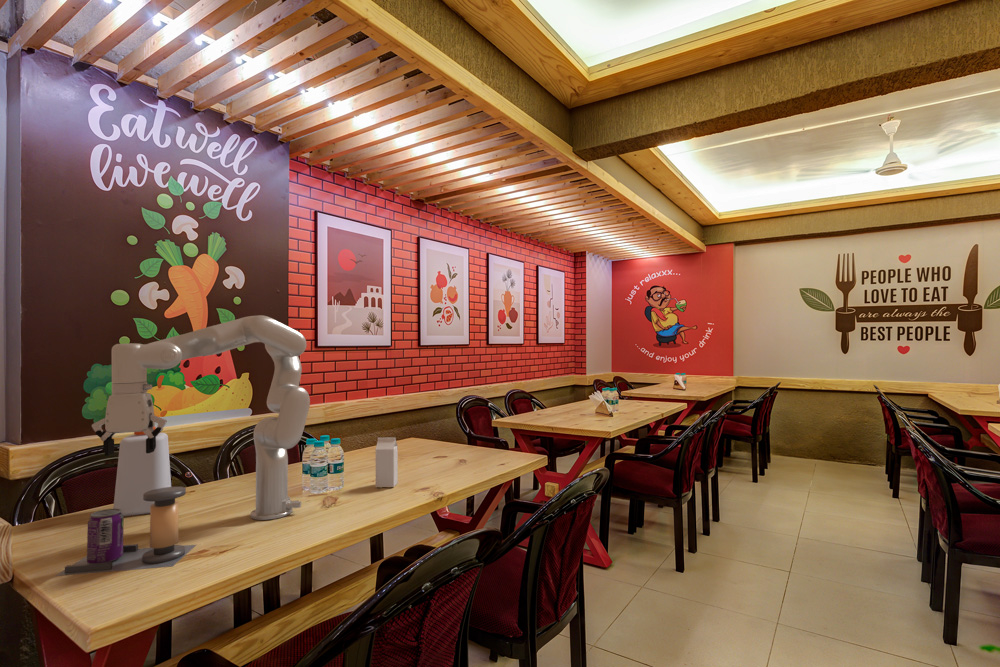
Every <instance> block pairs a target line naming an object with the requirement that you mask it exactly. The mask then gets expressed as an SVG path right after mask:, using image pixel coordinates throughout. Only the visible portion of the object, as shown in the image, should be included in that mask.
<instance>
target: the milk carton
mask: <svg viewBox="0 0 1000 667" xmlns="http://www.w3.org/2000/svg"><path fill="white" fill-rule="evenodd" d="M396 439H397V437H395V436H394V437H391V436H390V437H387V436H386V437H377V441H376V446H375V488H376V487H394V486H395V487H396V485H397V484H398V483H399V482H398V481H399V480H398V478H399V476H398V475H399V473H398V472H399V469H398V463H399V461H398V460H399V459H398V458H399V457H398V455H399V452H398V451H399V450H398V444H397V443H398V442H397V440H396ZM395 487H394V488H395Z"/></svg>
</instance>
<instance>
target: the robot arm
mask: <svg viewBox="0 0 1000 667" xmlns="http://www.w3.org/2000/svg"><path fill="white" fill-rule="evenodd" d="M253 343H262V344H264V348H265V350H266V352H267V353H268V354H269V356H270V357H271V359H272V361H273V363H274V372H273V376H272V380H271V385H270V387H269V390H268V395H267V398H266V406H267V408H268V410H269V411H270V412H273V413H275V414H278V416H277V417H276V416H267V417H264V418H262V419H261V420H259V421H258V422H257V423H256V425H255V427H254V429H253V443H254V448H255V462H256V463H255V509H254V510H252V511H250V512H249V513H250V518H251V519H253V520H256V521H257V520H258V521H269V520H275V519H281V518H284V517H286V516H289V515H290V514H291V513H293V511H294V510H293V509H297V508H298V509H299V508H300V509H301V508H302V501H300V500H292V499H291V496H289V495H288V493H289V492H288V485H289V484H288V482H289V480H288V478H289V476H288V472H289V470H288V468H289V456H288V450H289V449H292V448H294V447H295V446H296V445H298V443H299V442H300V441H301V439H302V436H303V432H304V431H305V427H306V426H305V425H306V423H307V418H308V415H309V411H310V406H311V405H310V404H311V399H310V395H309V392H308V391H307V390H306V389H305V388H304V387H302V386H300V382H301V377H302V370H303V367H302V363H301V362H302V361H301V360H300V357H299V356H301V355H302V354H304V352H305V350H306V349H307V340H306V338H305V336H304V335H303V334H302V333H301V332H299V331H298V330H296V329H294V328H292V327H290V326H288V325H287V324H284V323H282V322H280V321H278V320H276V319H274V318H272V317H270V316H267V315H262V314H261V315H260V314H259V315H250V316H244V317H240V318H238V319H232V320H230V321H225V322H222V323H218V324H216V325H215V324H213V325H211V326H207V327H203V328H201V329H196V330H193V331H190V332H187V333H183V334H179V335H174V336H172V337H171V336H170V337H168V338H164V339H161V340H156V341H153V342H149V343H146V344H145V343H144V344H142V343H135V342H134V343H133V342H132V343H131V342H130V343H116V344H114V345H113V346H112V347H111V395H109V396H108V399H107V404H106V407H105V417H104V418H102V419H100V420H98V421H96V422H93V423H92V424H91V428H92V430H93V431H94V432H95V435H96V436H98V438H100V440H101V441H102V443H103V444H102V445H103V447H102V448H103V450H102V452H104V456H106V457H109V456H111V455H113V454H114V453H115V438H113V437H114V436H115V434H122V433H123V434H124V433H134V432H141V431H143V432H144V433H145V434H146V435H147V436H148V438H147V439H146V453H151V452H154V449H155V448H156V436H157V435H158V434H159V433H162V431H163V430H164V428H165V426H166V424H167V420H166V419H164V418H162V417H160V416H158V415H155V410H154V409H155V407H154V403H153V398H152V394H151V393H148V392H149V390H152V389H153V384H149V383H148V382H147V379H148V378H147V376H148V375H147V373H148V371H147V369H150V370H151V369H152V370H155V369H156V370H169V369H172V368H175V367H176V366H178V365H179V364H180V363H181V362H182V361H184V360H188V359H193V358H197V357H207V356H213V355H219V354H221V353H224V352H228V351H231V350H234V349H237V348H240V347H243V346H246V345H250V344H253ZM156 423H157V427H156V426H155V424H156ZM103 425H104V426H105V430H104V429H102V428H103ZM154 426H155V427H156V429H155V430H154V429H153V427H154Z"/></svg>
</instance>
